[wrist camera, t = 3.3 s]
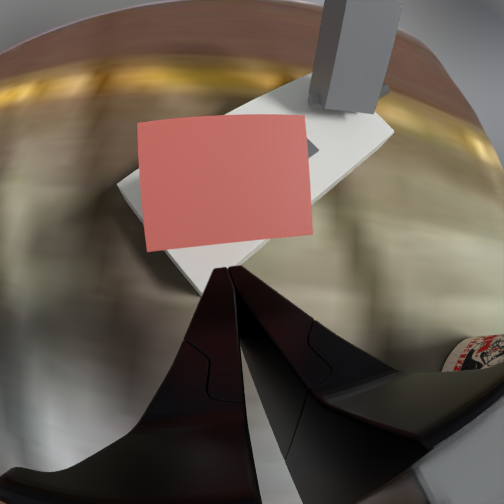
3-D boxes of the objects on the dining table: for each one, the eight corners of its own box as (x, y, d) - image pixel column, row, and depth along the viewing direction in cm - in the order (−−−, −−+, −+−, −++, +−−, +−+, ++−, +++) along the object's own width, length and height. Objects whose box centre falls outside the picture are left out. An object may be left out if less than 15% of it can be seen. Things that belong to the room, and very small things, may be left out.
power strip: (202, 297, 17) (201, 292, 15) (126, 201, 18) (115, 182, 15) (407, 124, 24) (421, 108, 22) (350, 70, 25) (360, 53, 22)
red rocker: (250, 212, 16) (326, 233, 7) (163, 220, 16) (130, 253, 6) (246, 158, 16) (318, 116, 7) (159, 166, 15) (120, 125, 6)
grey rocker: (376, 120, 19) (407, 5, 11) (317, 115, 18) (343, -18, 10) (357, 103, 20) (382, -2, 13) (302, 98, 19) (321, -19, 12)
